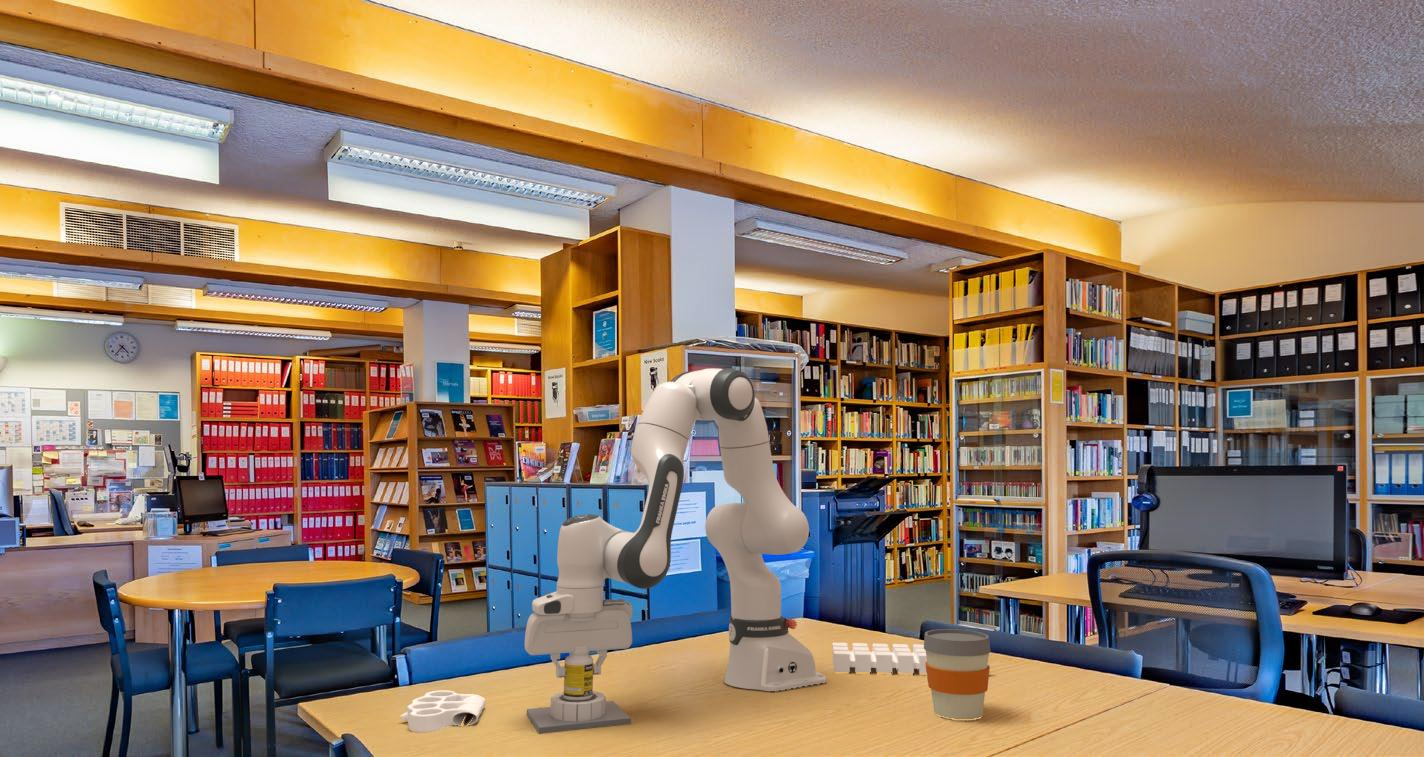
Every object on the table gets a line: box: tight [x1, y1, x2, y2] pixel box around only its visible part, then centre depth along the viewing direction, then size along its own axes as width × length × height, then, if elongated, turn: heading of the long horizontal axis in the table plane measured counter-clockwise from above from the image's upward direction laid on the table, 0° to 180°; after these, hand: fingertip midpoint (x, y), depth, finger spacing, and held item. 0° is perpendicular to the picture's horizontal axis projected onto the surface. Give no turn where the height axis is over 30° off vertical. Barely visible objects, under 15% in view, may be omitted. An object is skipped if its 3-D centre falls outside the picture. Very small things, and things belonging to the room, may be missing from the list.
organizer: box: [832, 642, 990, 674], centre depth 211 cm, size 13×5×35 cm
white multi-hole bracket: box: [398, 690, 487, 733], centre depth 170 cm, size 3×18×15 cm
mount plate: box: [526, 690, 632, 734], centre depth 170 cm, size 17×13×4 cm
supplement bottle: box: [563, 646, 594, 701], centre depth 170 cm, size 5×5×10 cm
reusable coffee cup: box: [923, 628, 992, 719], centre depth 174 cm, size 13×13×15 cm
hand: (578, 675), depth 170 cm, fingers closed on supplement bottle, 5 cm apart
